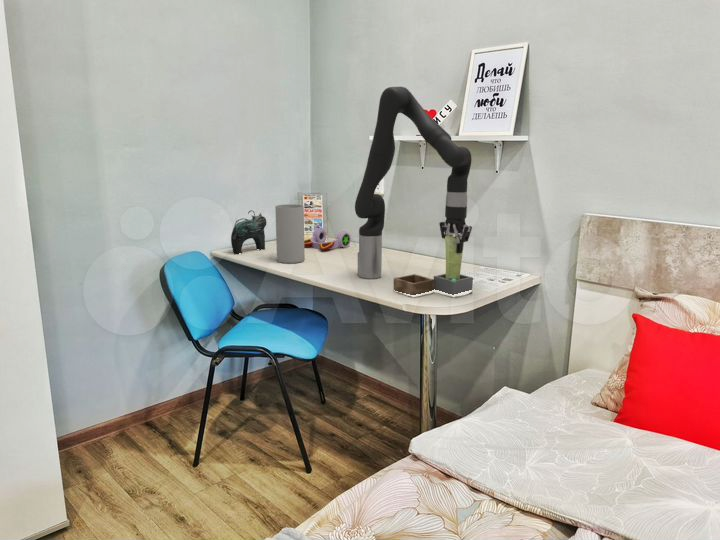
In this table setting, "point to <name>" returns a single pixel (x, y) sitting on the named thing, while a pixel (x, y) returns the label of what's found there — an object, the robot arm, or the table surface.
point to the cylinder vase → (290, 233)
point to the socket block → (453, 284)
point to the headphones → (320, 243)
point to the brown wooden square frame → (413, 284)
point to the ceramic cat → (248, 233)
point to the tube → (452, 258)
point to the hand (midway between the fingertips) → (454, 251)
